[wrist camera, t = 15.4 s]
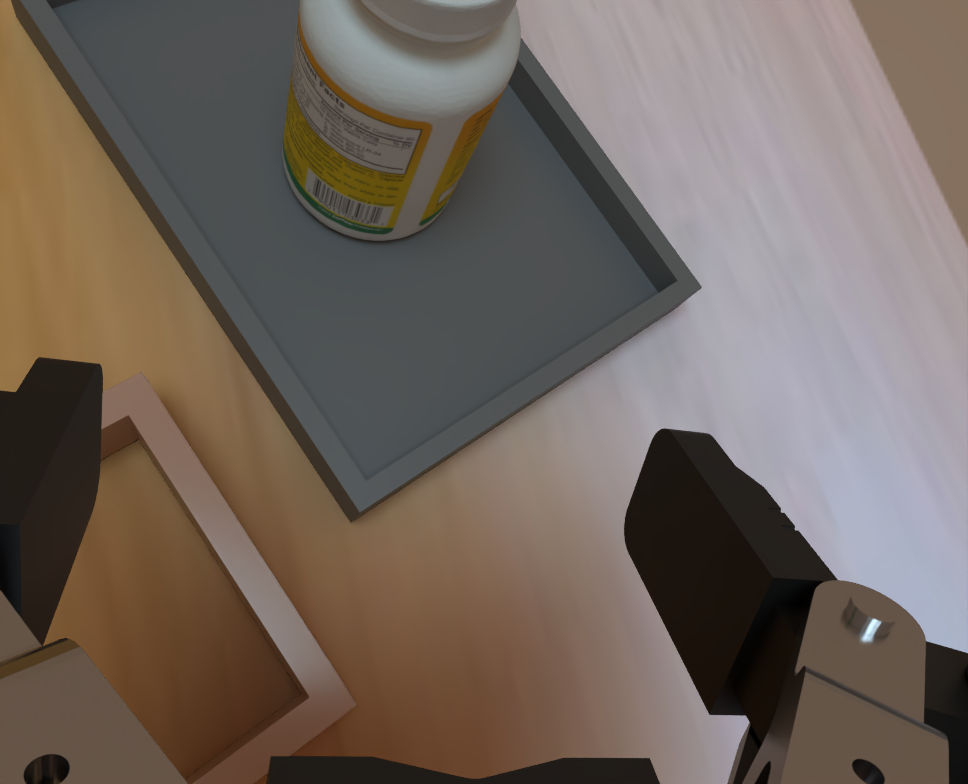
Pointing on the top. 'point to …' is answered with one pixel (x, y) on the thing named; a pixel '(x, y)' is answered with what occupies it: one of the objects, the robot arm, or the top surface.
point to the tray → (363, 263)
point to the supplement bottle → (391, 106)
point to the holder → (323, 693)
